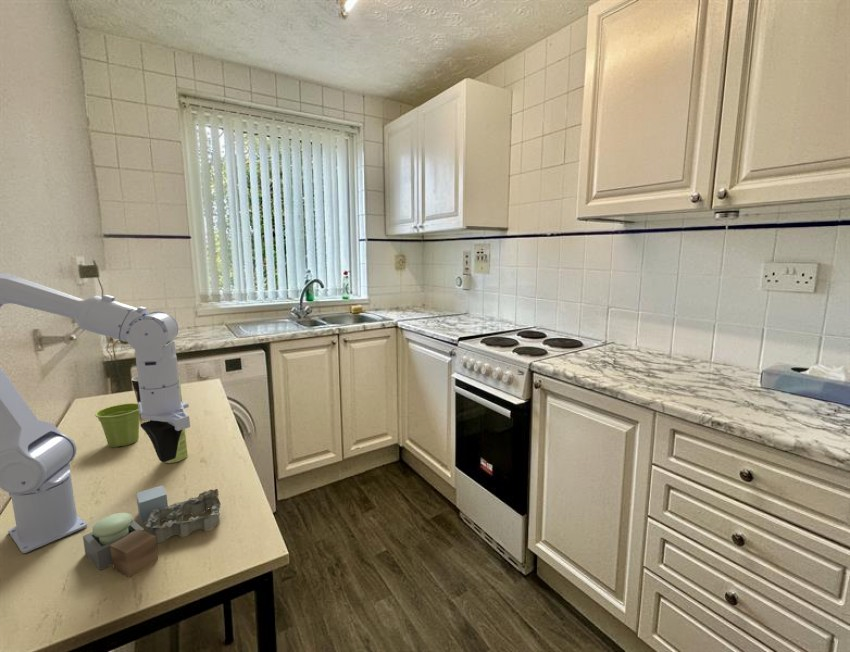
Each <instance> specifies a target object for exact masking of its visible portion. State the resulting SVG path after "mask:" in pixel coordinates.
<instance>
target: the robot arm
mask: <svg viewBox="0 0 850 652" xmlns="http://www.w3.org/2000/svg"><path fill="white" fill-rule="evenodd" d="M115 300H116V297H115V296H112V295H110V294H105V295H104V294H103V295H102V296H100V295H93V296H91V297H88V298H86V299H83V298H80V297H77V296H74V295H71V294H69V293H66V292H63V291H60V290H57V289H56V288H55V289H54V288H51V287H48V286H46V285H43V284H39V283H37V282H34V281H31V280H28V279H26V278H23V277H19V276H18V275H16V274H13V273H7V272H0V308H2V307H3V306H4V305H6V304H12V305H13V304H14V305H17V306H22V307H24V308H25V307H26V308H29V309H34V310H38V311H42V312H46V313H50V314H54V315H58V316H63V317H66V318H70V319H73V320H74V321H75V322H76V324H77V326H78V327H79V328H80V329H81V330H84V331H88V332H91V333H93V334H97V335H101V336H105V337H109V338H112V339H115V340H118V341H122V342H127V343H128V345H130V346H129V347H131V348H132V349H134V353H135V363H136V372H137V376H138V382H139V391H140V400H141V402H137V403H138V410H139V413H140V418H141V419H142V420H146V421H144V422H142V423H141V424H140V427H141V429H142V430H143V431H144V433H146V435H147V436H148V437H149V440H150V441H151V444H152V447H153V449H154V452H155V453H156V456H157V458H158V460H159V461H160V462H162V463H165V462H166V461H169V460H172V459H175V458H176V453H177V448H178V442H179V438H180V435H181V432H182V430H183V429H185V430H186V429H188V428H190V427H191V421H190V415H188V414H187V413H186V410H185V409H187V408H189V406H190V403H188V402H186V401H182V402H181V395H182V394H181V395H180V386H179V375H180V374H179V375H178V372H179V368H178V357H177V353H176V343H175V341H174V340H175V339H176V337H177V336H178V333H179V325H178V322H177V321H176V319H175V318H174V317H173V316H172V315H170V314H168V313H166V312H164V311H162V310H155V311H151V312H148V308H147V307H145V306H137V307H136V306H131V305H129V304H126V303H123V302H119V301H115ZM76 445H77V444H76V443H75V441H74V440H73V439H72V438H71V437H70V436H69V435H67V434H64V433H63V432H61V431H60V430H59V429H58V428H57V426H56V425H55V424H54V423H51V422H48V421H45V420H41V419H38V418H37V416H36V415H35V413H34V412H33V410H32V409H31V408H30V406H29V405H28V403H27V402H26V401H25V399H24V398H23V397H22V394H20V391H18V389H17V388H16V386H15V385H14V384H13V382H12V381H11V379H10V378H9V377H8V375H7V374H6V373H5V371H4V369H3V368H2V367H1V366H0V489H1V490H3V491H4V492H6V493H8V495H9V496H10V497H11V503H12V504H11V505H12V510H13V516H14V521H15V526H13V527H11V528H9V529H8V532H7V533H8V534H9V535H10V537H11V538H12V540H13V541H14V543H15V544H16V545H17V547H18V549H19V550H20V552H21V553H22V554H27V553H29V552H31V551H33V550H36V549H38V548H40V547H44V546H45V545H47V544H50V543H52V542H55V541H57V540H59V539H61V538H64V537H66V536H68V535H69V536H70V535H71V534H74V533H76V532H78V531H80V530H83V529H86V528H87V527H88V525H87V522H85V520H84V519H83V518H82V517H81V516H80V515H78V514H77V507H76V501H75V495H74V487H73V482H72V475H71V464H70V463H71V462H73V460H74V458H75V457H76V456H77V455H76V454H77V446H76Z"/></svg>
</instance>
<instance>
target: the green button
mask: <svg viewBox="0 0 850 652" xmlns="http://www.w3.org/2000/svg"><path fill="white" fill-rule="evenodd" d="M132 520H133V517H132V514H131V513H128V512H119V513H114V514H113V513H112V514H110V515H108V516H105V517H103V518H101V519H100V520H98V521H96V522H95V523H94V525H93V526H92V532H93V535H94V536H96V537H99V541H100V545H101V546H104V545H106V544H108V543H110V542H112V541H115V540H117V539H119V538H121V537H123V536H125V535H127V534H129V531H128V527H129V526H130V525H131V523H132Z"/></svg>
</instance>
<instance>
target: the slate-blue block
mask: <svg viewBox="0 0 850 652" xmlns="http://www.w3.org/2000/svg"><path fill="white" fill-rule="evenodd" d="M136 501H137V503H136V504H137V509H138V510H137V511H138V515H139V519H140V523H141V525H144V524H147V520H148V519H149V517H150V513H151V512H152V510H154V509H159V508H160V510H162V509H163V508H165V507H168V506H169V504H168V496H167V492H166V490H165V487H164V485H163V484H162V485H160V486H159V485H158V486H156V487H152V488H149V489H146V490H142V491H139V492H137V493H136Z"/></svg>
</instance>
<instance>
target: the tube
mask: <svg viewBox="0 0 850 652" xmlns="http://www.w3.org/2000/svg"><path fill="white" fill-rule="evenodd" d="M178 375H179V386H180V395H181V402H183V398H182V397H183V396H182V387H181V386H182V385H181V377H180V371H178ZM186 434H187V433H186V429H183V430H182V432H181V435H180V438H179V442H178V448H177V453H176V458H175V459H172V460H169V461H166V462H164V463H166V464H172V463H173V464H174V463H177V462H181V461H183V460H184V459H186V458H187V457H188V447H187V446H188V444H187V435H186Z"/></svg>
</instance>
